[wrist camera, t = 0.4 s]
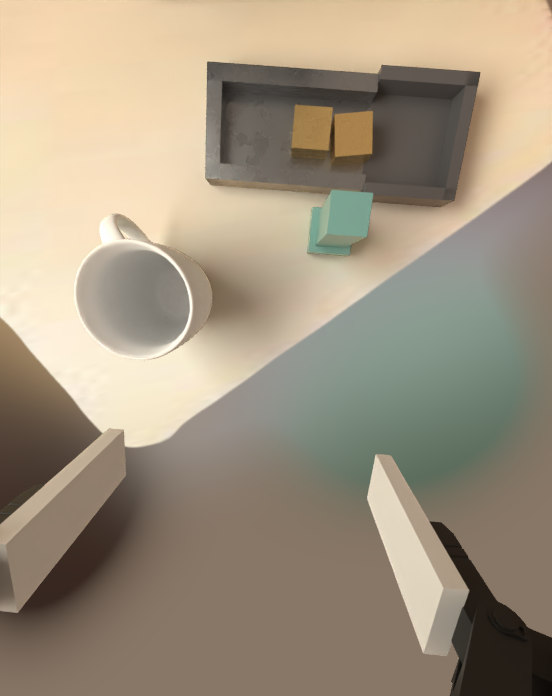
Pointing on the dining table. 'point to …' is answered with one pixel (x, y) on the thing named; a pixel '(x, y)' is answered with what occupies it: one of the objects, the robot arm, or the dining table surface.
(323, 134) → the chip
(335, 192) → the teal t-shaped block
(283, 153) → the dark gray shallow tray
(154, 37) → the dining table surface
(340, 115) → the chip
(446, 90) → the tray
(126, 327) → the mug
